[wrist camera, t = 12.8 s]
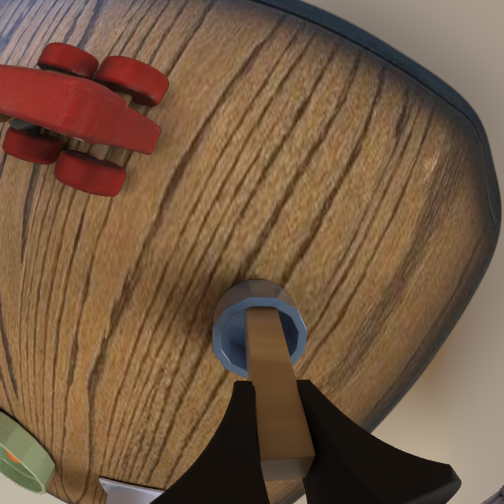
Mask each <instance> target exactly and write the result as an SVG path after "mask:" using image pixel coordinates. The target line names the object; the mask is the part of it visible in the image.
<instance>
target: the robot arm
mask: <svg viewBox="0 0 504 504" xmlns="http://www.w3.org/2000/svg"><path fill="white" fill-rule="evenodd" d="M296 381H297V388H298V392H299V395H300V398H301V401H302V404H303V408H304V412H305V416H306V419H307V423H308V427H309V431H310V435H311V439H312V442H313V446H314V450H315V454H316V456H315V458H314V460H313V463H312V465H311V467H310V469H309V471H308V473H307V475H306V477H305V478H302V480H303V483H304V487H305V492H306V498H307V504H446V503H447V502H448V501H449V500H450V499H451V498H452V497H453V496H454V495H455V493H456V492H457V491H458V490H459V488H460V486H461V480H460V478H459V477H458V476H457V474H456V473H455V471H454V470H453V468H452V467H451V466H450V465H449V464H444V463H440V462H435V461H431V460H427V459H423V458H420V457H417V456H414V455H412V454H409V453H406V452H404V451H401V450H399V449H397V448H395V447H393V446H391V445H389V444H387V443H385V442H383V441H381V440H380V439H378V438H376V437H375V436H373V435H371V434H370V433H368V432H367V431H365V430H364V429H362V428H361V427H359V426H358V425H357V424H356V423H354V422H353V421H352V420H350V419H349V418H348V417H347V416H346V415H344V414H343V413H342V412H341V411H340V410H339V409H338V408H337V407H336V406H334V405H333V404H332V403H331V402H330V401H329V400H328V399H327V398H326V397H325V396H324V395H323V394H322V393H321V392H320V391H319V389H318V388H317V387H316V386H315V385H314V384H313V383H312V382H311V381H310V380H309V379H308V380H296ZM99 482H100V484H101V485H102V487H103V488H104V490H105V492H106V493H107V495H108V496H107V499H106V502H105V504H270V502H269V499H268V495H267V491H266V487H265V482H264V478H263V473H262V468H261V463H260V458H259V452H258V446H257V440H256V391H255V386H253V385H252V381H236V382H234V388H233V393H232V397H231V400H230V403H229V405H228V408H227V410H226V413H225V415H224V417H223V419H222V421H221V423H220V425H219V427H218V429H217V431H216V432H215V434H214V436H213V437H212V439H211V441H210V442H209V444H208V445H207V447H206V448H205V449H204V451H203V452H202V453H201V455H200V456H199V457H198V458H197V460H196V461H195V462H194V463H193V465H192V466H191V467H190V468H189V469H188V470H187V471H186V472H185V473H184V474H183V475H182V476H181V477H180V478H179V479H178V480H177V481H176V482H175V483H174V484H173V485H172V486H171V487H170V488H168V489H167V490H166V491H163V490H157V489H151V488H145V487H140V486H135V485H130V484H126V483H121V482H117V481H113V480H109V479H105V478H99ZM481 504H504V485H503V486H502V488H501V489H500V491H498V492H497V493H495V494H494V495H493V496H491V497H490V498H489V499H487V500H486V501H484V502H483V503H481Z"/></svg>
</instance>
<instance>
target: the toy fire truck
mask: <svg viewBox="0 0 504 504" xmlns="http://www.w3.org/2000/svg"><path fill="white" fill-rule="evenodd" d="M37 65H38V66H39V67H40V68H41V69H42V70H41V69H32V68H26V67H22V66H17V65H14V66H10V65H0V122H8V123H9V124H10V126H11V127H9V128H8V130H7V132H6V135H5V138H4V141H3V145H2V148H3V150H4V152H6V153H7V154H9V155H11V156H14V157H16V158H19V159H22V160H25V161H29V162H34V163H40V164H52V163H53V162H55V160H56V158H57V155H58V152H59V149H60V146H61V141H60V140H59V139H57V138H55V137H53V136H51V135H48V134H45V133H44V130H45V128H47V129H50V130H52V131H55V132H57V133H60V134H63V135H66V136H68V137H71V138H74V139H76V140H80V141H83V142H86V143H89V144H92V146H91V148H90V150H89V154H87V153H84V152H81V151H77V150H71V149H70V150H62V151H61V152H60V154H59V157H58V160H57V163H56V166H55V169H54V175H55V176H56V178H57V179H58V180H59V181H60V182H62V183H64V184H66V185H68V186H70V187H73V188H75V189H77V190H81V191H84V192H87V193H91V194H95V195H100V196H107V197H113V196H116V195H118V193H119V192H120V190H121V187H122V185H123V182H124V180H125V177H126V171H125V170H124V168H122V167H121V166H119V165H117V164H115V163H113V162H110V161H108V160H105V159H104V158H105V156H106V154H107V152H108V150H109V148H110V146H111V145H112V146H116V147H119V148H123V149H128V150H132V151H136V152H139V153H143V154H147V155H150V154H152V152H153V150H154V148H155V145H156V143H157V140H158V137H159V135H160V132H161V128H160V126H159V125H157V124H156V123H154V122H153V121H151V120H150V119H148V118H147V117H145V116H143V115H142V114H140V113H139V112H137V111H135V110H134V109H132V108H131V107H129V106H128V105H129V103H130V102H131V101H133V102H136V103H139V104H143V105H148V106H157V105H158V104H160V102H161V101H162V99H163V97H164V95H165V93H166V91H167V90H168V87H169V81H168V79H167V77H166V76H165V75H164V74H162V73H161V72H160V71H158V70H157V69H155V68H153V67H152V66H150V65H148V64H145V63H143V62H141V61H138V60H135V59H132V58H128V57H124V56H109V57H107V58H106V59H105V60H104V61H103V62H102V64H101V66H100V68H99V70H98V71H97V73H96V75H95V82H94V81H92V80H91V79H92V77H93V75H94V74H95V72H96V70H97V68H98V66H99V63H98V61H97V59H96V58H95V57H93V56H92V55H91V54H89V53H87V52H85V51H83V50H81V49H79V48H76V47H74V46H71V45H68V44H64V43H59V42H57V43H56V42H55V43H50V44H48V45H47V46H46V47H45V49H44V51H43V52H42V54H41V56H40V58H39V59H38V63H37Z"/></svg>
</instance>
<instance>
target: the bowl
mask: <svg viewBox="0 0 504 504" xmlns="http://www.w3.org/2000/svg"><path fill="white" fill-rule="evenodd" d="M5 449H6V450H7V451H8V452H9V453H10V454H11V455H13V456H14V457H15V458H16V459H17V460H18V461H20V462H21V463H18V462H15V461H13V460H12V459H11V458H10V457H9V456H8V455H7V453H6V450H5ZM0 472H1V473H2V474H3V475H4V476H6V477H7V478H8V479H10V480H11V481H13V482H14V483H15V484H17V485H19V486H20V487H22V488H24V489H26V490H28V491H31V492H33V493H36V494H40V495H41V494H45V493H46V492H47V489H48V487H49V485H50V483H51V481H52V479H53V477H54V475H55V464H54V462H53V461H52V459H51V458H50V456H49V454H48V453H47V452H46V451H45V450H44V449H43V447H42V446H41V445H40V444H39V443H38V442H37V441H36V439H35V438H34V437H33V436H32V435H31V434H29V433H28V432H27V431H26V430H25V429H24V428H23V427H22V426H20V425H19V424H18V423H17V422H15V421H14V420H13V419H11V418H10V417H9V416H7V415H5V414H4V413H3V412H1V411H0Z"/></svg>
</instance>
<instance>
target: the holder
mask: <svg viewBox="0 0 504 504" xmlns="http://www.w3.org/2000/svg"><path fill="white" fill-rule="evenodd" d="M251 306H270V307H275V308H277V311H278V315H279V318H280V322H281V326H282V329H283V333H284V337H285V340H286V344H287V348H288V352H289V355H290V359H291V363H292V365H293V364H294V363H295V362H296V361H297V359H298V358H299V357H300V356H301V355H302V353H303V352H304V350H305V344H306V337H307V327H306V325H305V323H304V321H303V319H302V317H301V315H300V313H299V311H298V309H297V307H296V305H295V303H294V301H293V300H292V298H291V296H290V294H289V293H288V292H286V291H285V290H284V289H283V288H282V287H280V286H279V285H277V284H275V283H273V282H270V281H266V280H260V279H254V280H247V281H243V282H240V283H238V284H236V285H234V286H233V287H231V288H230V289H228V290H227V291H226V292H225V293H224V294H223V296H222V297H221V299H220V300H219V302H218V304H217V307H216V308H215V312H214V320H213V328H212V350H213V352H214V353H215V355H216V356H217V358H218V359H219V361H220V362H221V364H222V365H223V367H224V368H225V369H227V370H229V371H231V372H233V373H236V374H238V375H240V376H242V377H244V378H248V375H247V361H246V347H245V332H244V329H245V311H246V309H247V308H249V307H251Z"/></svg>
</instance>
